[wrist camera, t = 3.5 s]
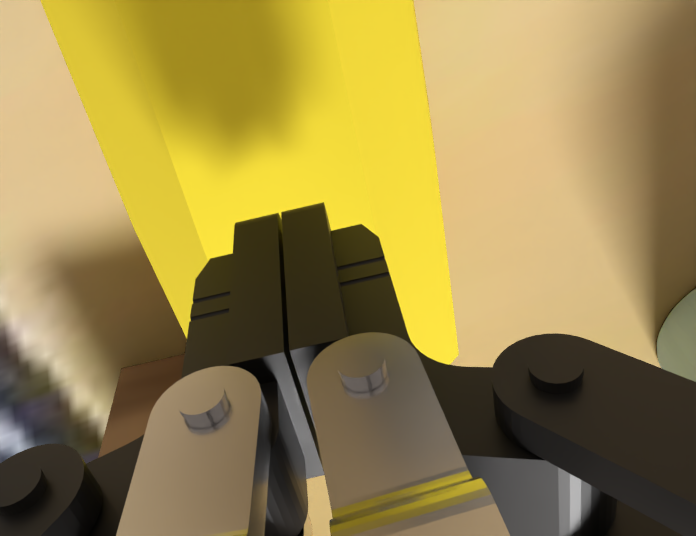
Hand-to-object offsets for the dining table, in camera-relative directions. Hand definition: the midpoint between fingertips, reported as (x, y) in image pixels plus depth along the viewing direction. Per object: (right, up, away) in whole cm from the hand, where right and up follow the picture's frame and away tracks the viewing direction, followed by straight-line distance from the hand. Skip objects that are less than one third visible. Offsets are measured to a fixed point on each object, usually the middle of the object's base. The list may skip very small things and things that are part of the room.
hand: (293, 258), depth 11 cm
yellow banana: (-1, +4, +7) cm, 9 cm away
